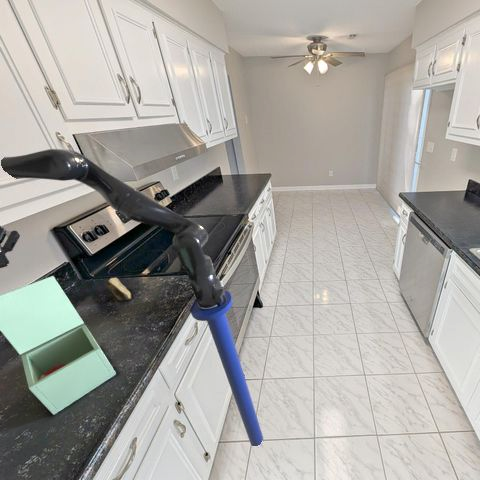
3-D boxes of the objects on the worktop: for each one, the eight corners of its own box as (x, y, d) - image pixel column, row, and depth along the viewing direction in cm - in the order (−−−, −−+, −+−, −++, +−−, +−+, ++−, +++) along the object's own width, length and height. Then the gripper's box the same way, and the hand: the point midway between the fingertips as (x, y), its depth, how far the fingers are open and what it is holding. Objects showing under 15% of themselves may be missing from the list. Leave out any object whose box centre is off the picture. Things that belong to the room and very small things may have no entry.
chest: (116, 374, 75) (99, 348, 70) (53, 415, 65) (28, 388, 60) (100, 348, 84) (84, 323, 79) (43, 380, 74) (20, 355, 69)
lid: (53, 276, 73) (53, 275, 73) (-22, 303, 63) (-22, 302, 64) (84, 323, 79) (83, 322, 79) (19, 354, 69) (19, 353, 69)
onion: (65, 374, 75) (30, 377, 68) (80, 358, 75) (46, 359, 68) (70, 390, 72) (33, 395, 65) (85, 374, 72) (51, 376, 65)
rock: (112, 285, 112) (97, 296, 103) (119, 269, 111) (105, 280, 102) (137, 294, 116) (126, 306, 106) (145, 279, 114) (134, 290, 105)
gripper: (-73, 218, 66) (-41, 272, 65) (1, 203, 75) (31, 250, 74) (-58, 232, 71) (-27, 282, 70) (10, 216, 80) (38, 260, 79)
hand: (3, 266), depth 72 cm, fingers closed
